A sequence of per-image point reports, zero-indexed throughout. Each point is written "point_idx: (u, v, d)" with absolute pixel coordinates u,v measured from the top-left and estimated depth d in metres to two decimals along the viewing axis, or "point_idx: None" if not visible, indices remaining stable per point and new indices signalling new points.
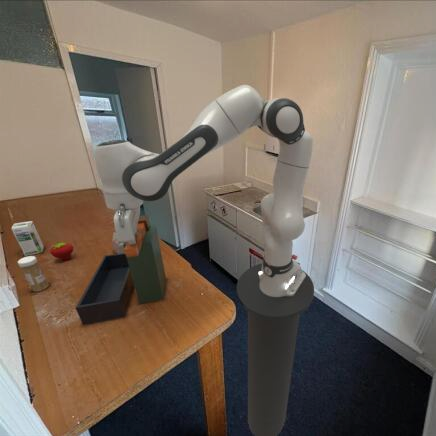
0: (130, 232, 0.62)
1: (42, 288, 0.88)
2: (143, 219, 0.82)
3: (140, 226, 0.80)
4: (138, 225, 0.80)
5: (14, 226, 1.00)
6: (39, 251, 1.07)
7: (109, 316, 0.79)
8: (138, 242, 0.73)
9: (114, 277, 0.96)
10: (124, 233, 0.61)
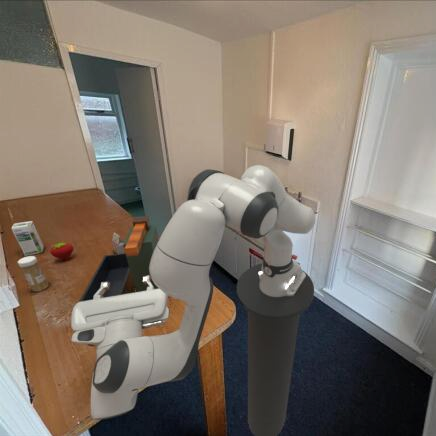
0: (166, 298, 0.62)
1: (42, 288, 0.88)
2: (144, 220, 0.83)
3: (141, 226, 0.80)
4: (139, 226, 0.80)
5: (14, 226, 1.00)
6: (39, 251, 1.07)
7: None
8: (139, 242, 0.73)
9: (114, 277, 0.96)
10: (167, 299, 0.63)
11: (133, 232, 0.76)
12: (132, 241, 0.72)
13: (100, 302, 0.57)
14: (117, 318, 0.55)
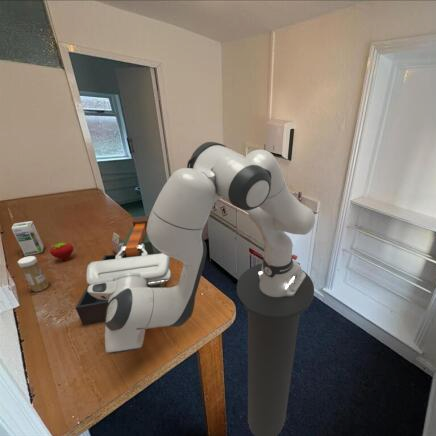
0: (168, 261, 0.70)
1: (42, 288, 0.88)
2: (144, 220, 0.83)
3: (141, 226, 0.80)
4: (139, 226, 0.80)
5: (14, 226, 1.00)
6: (39, 251, 1.07)
7: None
8: (139, 242, 0.73)
9: None
10: (169, 263, 0.71)
11: (133, 232, 0.76)
12: (132, 241, 0.72)
13: (110, 262, 0.66)
14: (126, 275, 0.64)
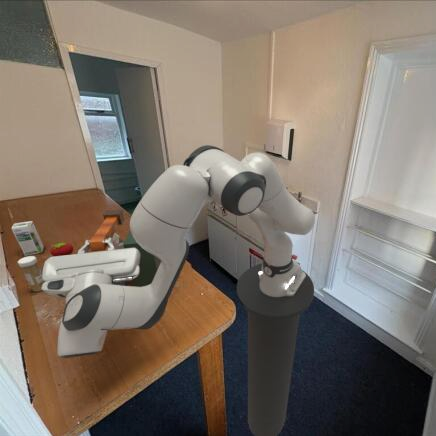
0: (136, 256, 0.65)
1: None
2: (116, 213, 0.77)
3: (112, 220, 0.75)
4: (110, 219, 0.75)
5: (14, 226, 1.00)
6: (39, 251, 1.07)
7: None
8: (106, 236, 0.67)
9: None
10: (138, 258, 0.66)
11: (102, 226, 0.71)
12: (99, 235, 0.66)
13: (71, 257, 0.60)
14: (87, 271, 0.58)
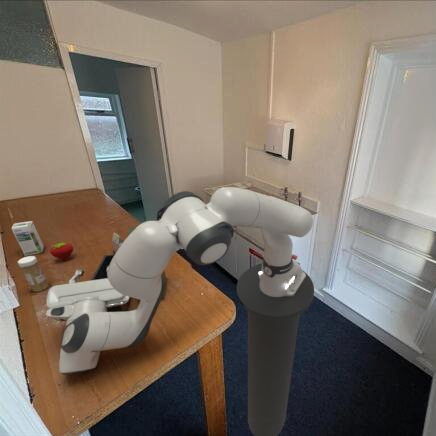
0: None
1: (42, 288, 0.88)
2: None
3: None
4: None
5: (14, 226, 1.00)
6: (39, 251, 1.07)
7: None
8: None
9: None
10: None
11: None
12: None
13: (71, 286, 0.70)
14: (84, 298, 0.68)
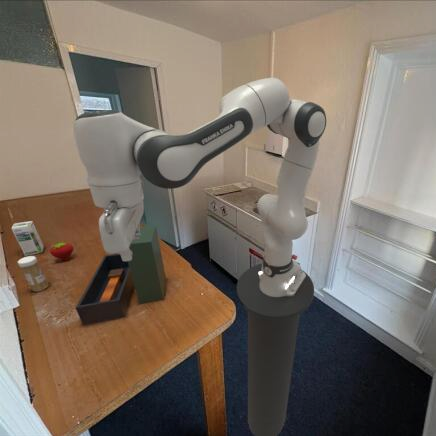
0: (122, 240, 0.44)
1: (42, 288, 0.88)
2: (119, 273, 0.93)
3: (115, 281, 0.90)
4: (113, 280, 0.91)
5: (14, 226, 1.00)
6: (39, 251, 1.07)
7: (109, 316, 0.79)
8: (110, 299, 0.83)
9: None
10: (113, 241, 0.44)
11: (107, 288, 0.86)
12: (104, 300, 0.82)
13: (140, 217, 0.57)
14: (138, 204, 0.52)
